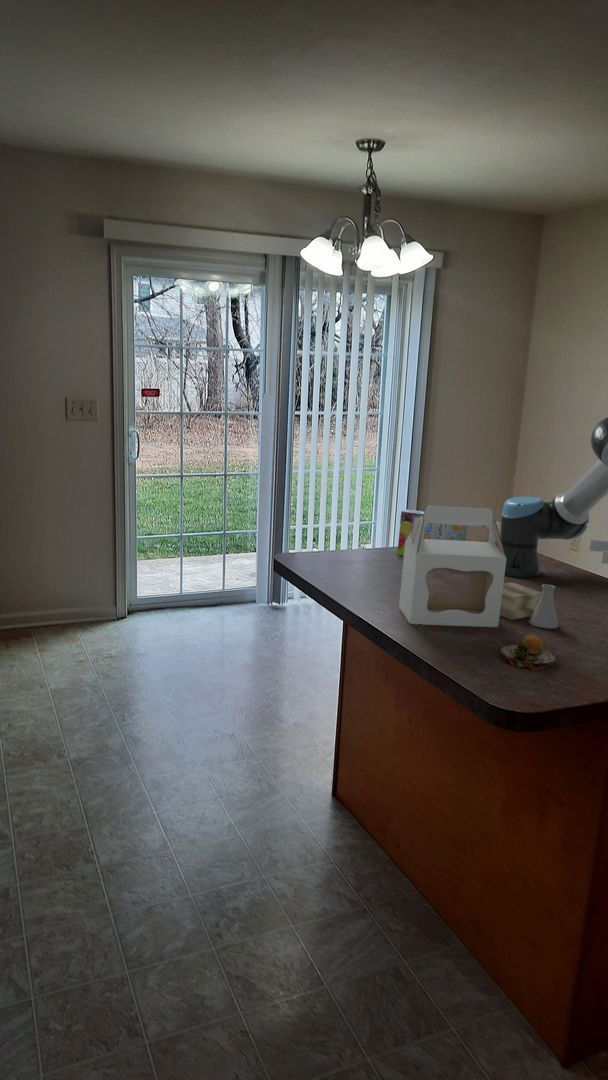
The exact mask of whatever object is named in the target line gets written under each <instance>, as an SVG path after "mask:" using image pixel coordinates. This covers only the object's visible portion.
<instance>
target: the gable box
mask: <svg viewBox="0 0 608 1080" xmlns="http://www.w3.org/2000/svg"><path fill="white" fill-rule="evenodd" d="M423 510H424V511H423V512H424V515H423V516H421V517H420V518H418V517H414V521H413V527H412V531H411V533H410V534H409V536H408V538H407V540H406V541H405V549H404V556H403V562H402V571H401V582H400V594H399V602H398V608H399V609H400V611H401V613H402V614H403V615H404V617H405V619H406V620H407V622H408V623H409V624H410V625H419V624H421V626H422V625H423V626H425V625H426V626H450V627H452V626H453V627H480V628H498V627H499V622H500V616H501V615H500V607H501V599H502V591H503V584H504V583H505V576H506V575H505V567H506V559H507V557H506V554H505V551H504V548H503V544H502V541H501V538H500V537H501V522H502V520H501V521H500V520H499V521H498V520H497V521H495V520H494V518H493V517H494V516H493V510H492V509H491V508H490V507H479V506H478V507H477V506H463V505H462V506H459V505H439V504H428V505H426V506H425V508H424V509H423ZM427 524H431V525H432V524H448V525H467V527H468V526H470V527H471V526H472V527H473V526H474V527H482V528H485V527H486V528H487V530H488V534H487V540H486V541H476V540H475V541H472V540H466V541H455V540H434V539H424V529H425V526H426V525H427ZM439 568H440V569H442V568H443V569H445V568H446V569H452V570H455V571H460V572H461V571H462V572H474V573H473V575H472V577H471V579H470V581H469V594H468V596H466V597H463V598H462V597H457V596H454V595H451V594H448V593H447V594H446V593H436V594H431V595H430V594H429V589H428V586H427V581H426V577H427V574H428V573H429V572H430V571H431V570H433V569H439Z"/></svg>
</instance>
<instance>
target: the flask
mask: <svg viewBox="0 0 608 1080" xmlns="http://www.w3.org/2000/svg"><path fill="white" fill-rule="evenodd" d="M541 588H542V591H541V593H542V595H541V598H540V601H539V603H538V605H537V607H536V609H535V611H534V613H533V614H532V616H531V617H529V618H530V619H529V620H528V624H530V625H531V626H533V627H537V628H542V629H552V630H553V629H557V628H559V621H558V617H557V614H556V613H557V612H556V608H555V602H554V591H555V589H556V586H555V585H552V584H546V583H545V584H542V585H541Z"/></svg>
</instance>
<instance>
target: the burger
mask: <svg viewBox="0 0 608 1080" xmlns="http://www.w3.org/2000/svg"><path fill="white" fill-rule="evenodd" d="M539 636H540V634H538V635H534V634H533V635H532V634H529V635H528V634H527V635H525V636H524V637H523V641H521V642H519V643H512V644H506V645H504V646H502V647H500V648H499V649H498V651H499V654H500V658H499V659H500V660H501V661H502V662H504V663H507V660H508V661H509V663H510V665H511V666H513V667H514V666H515V668H516V667H519V669H520V668H521V667H523V668H524V669H525V668H529V669H530V670H531V671H539V670H542V671H547V668H548V670H552V669H554V668H555V667H556V666H555V665H557V663H556V660H557V656H556V654H555V653H554V652H552V651H549V650H548V649H547V648H544V647H546V644H543V641H542V640H541V639H540V638H539ZM552 667H553V668H552Z"/></svg>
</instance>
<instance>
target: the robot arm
mask: <svg viewBox="0 0 608 1080" xmlns="http://www.w3.org/2000/svg"><path fill="white" fill-rule="evenodd" d="M590 446H591V449H592V451H593V453H594V455H595V457H597V458H598V460H597V461H596V462H595V463H594V465H593V466H591V467H590V469H589V470H587V471H586V473H584V474H583V475H582V477H580V479H578V481H576V482H575V484H574V485H572V487H571V488H570V489H569V490H568V491H563V492H560V493H558V494H557V495H556V496H555V497H554V498H553V499H552V500H551V501H544V500H543V499H542V498H541V497H537V496H516V497H515V496H514V497H511V498H508V499H506V500H505V502H504V504H503V508H502V511H501V537H500V538H501V541H502V544H503V548H504V551H505V554H506V557H507V559H506V567H505V575H504V576H508V577H515V578H535V576H536V577H539V576H540V575H541V574H540V573H541V566H540V563H539V556H538V546H539V545H538V543H539V540H563V541H564V540H571V539H576V538H579V537H580V536H582V535H583V534H584V533H585V531H586V530H587V528H588V524H589V521H590V520H589V519H590V511H591V510H592V509H593V508H594V507H595V506H596V505H597V504H598V503H599V502H601V500H602V499H604V498H605V497H606V496H607V495H608V416H607V417H604V418H603V419H601V420H600V421H599V422H597V424H596V426H595V427H594V428H593V430H592V433H591V437H590ZM588 551H590V552H598V553H599V552H601V559H600V563H601V564H606V565H608V540H603V539H602V540H601V539H591V538H590V539H589V547H588ZM538 575H539V576H538Z"/></svg>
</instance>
